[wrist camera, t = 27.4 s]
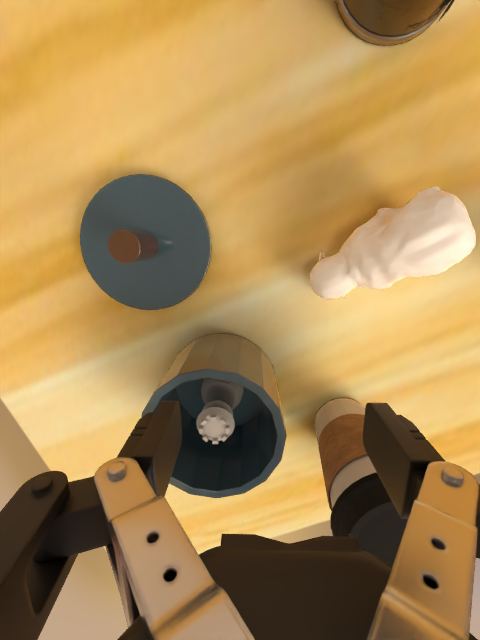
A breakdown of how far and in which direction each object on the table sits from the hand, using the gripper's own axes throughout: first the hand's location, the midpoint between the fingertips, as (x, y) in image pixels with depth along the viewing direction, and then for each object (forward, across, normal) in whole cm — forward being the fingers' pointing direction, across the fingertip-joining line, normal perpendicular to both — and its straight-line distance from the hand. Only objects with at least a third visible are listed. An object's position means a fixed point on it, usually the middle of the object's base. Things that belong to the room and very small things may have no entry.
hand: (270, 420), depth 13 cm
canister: (+19, +4, +8) cm, 21 cm away
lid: (+18, +11, -7) cm, 22 cm away
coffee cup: (+19, -9, +12) cm, 24 cm away
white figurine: (+19, -10, -6) cm, 22 cm away
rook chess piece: (+18, +4, +8) cm, 20 cm away
